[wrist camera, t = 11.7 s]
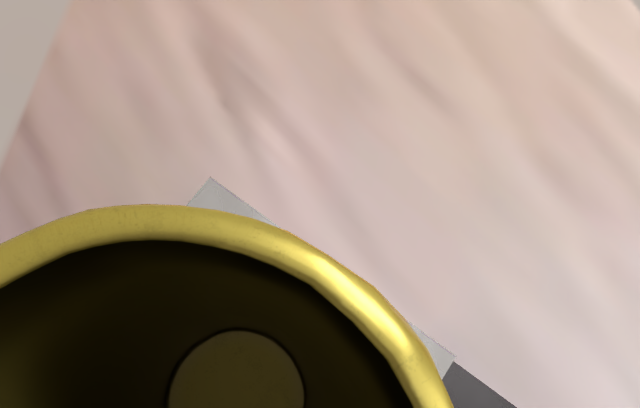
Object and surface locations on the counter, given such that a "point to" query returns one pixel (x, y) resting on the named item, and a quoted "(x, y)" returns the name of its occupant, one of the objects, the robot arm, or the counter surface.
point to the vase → (197, 319)
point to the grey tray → (463, 388)
